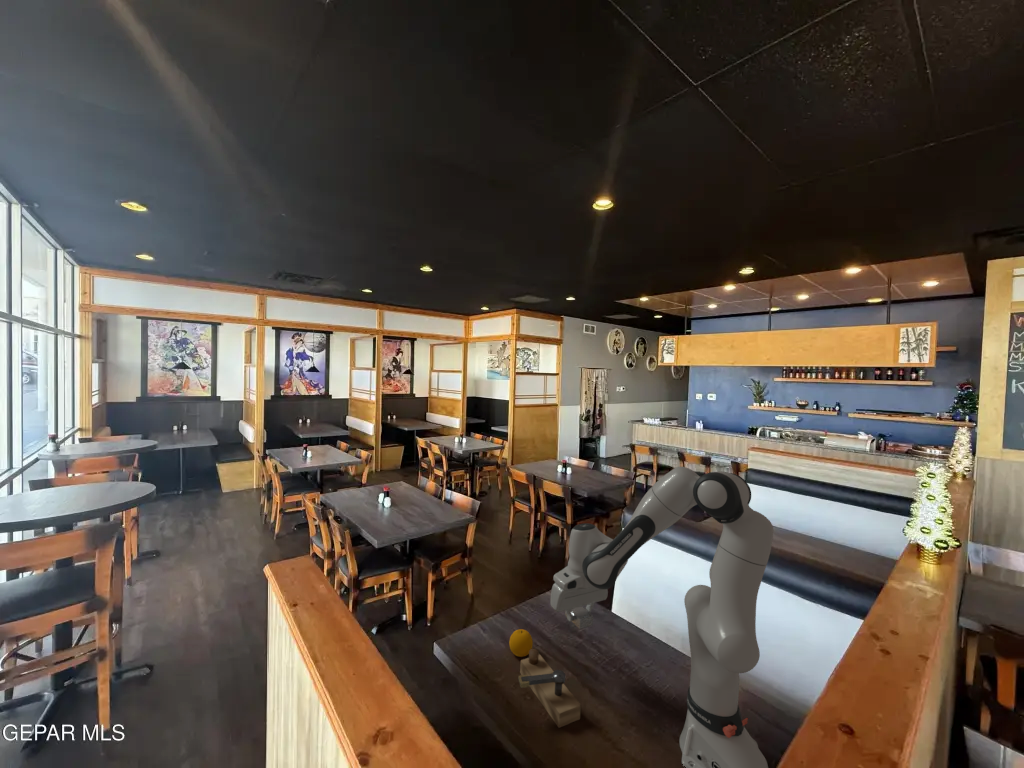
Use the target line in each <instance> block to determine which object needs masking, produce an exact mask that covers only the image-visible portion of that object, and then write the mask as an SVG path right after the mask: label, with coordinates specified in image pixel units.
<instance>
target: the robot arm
mask: <svg viewBox="0 0 1024 768" xmlns="http://www.w3.org/2000/svg"><path fill="white" fill-rule="evenodd" d="M751 501H752V490H751V487H750V485H749V483H748V481H746V480H745V479H744V477H741V476H740V475H738V474H735V473H732V472H727V471H724V470H722V471H719V470H717V471H712V472H706V473H704V474H702V475H701V476H700V475H698V474H697V473H696V472H695V471H694V470H692V469H690V468H688V467H686V466H677V467H674V468H672V470H670V471H669V472H667V473H666V474H664V475H663V476H662V477H661V478H659V479H658V480H657V481H656V482H655V483H654V484H653V485H652V486H651V487H650V488H649V489H648V490H647V492H646V493H645V494H644V496H643V497H642V498H641V500H640V501H639V503H638V505H637V506H636V508H635V510H634V512H633V513H632V515H631V516H630V519H629V521H627V523H626V525H625V527H624V528H623V529H622V530H620V532H619V533H618V534H617V535H616V536H615V538H611V537H609V536H608V535H605V534H604V533H603V532H602V531H600V530H599V528H598V527H597V526H596V525H595V524H592V523H587V522H585V523H583V522H582V523H579V524H576V525H575V526H573V528H572V529H571V531H570V535H569V541H568V542H569V543H568V554H569V558H568V562H567V566H565V567H564V568H562V569H561V570H559V571H558V572H555V574H554V575H553V579H552V581H554V583H553V584H552V587H551V592H550V606H551V608H553V610H554V611H555V612H557V613H562V612H565V611H566V613H567V616H566V618H567V621H568V622H572V621H573V620H574V615H573V614H572V613H571V612H570V611H572V609H573V608H576V607H580V606H582V607H583V606H585V609H586V610H587V611H588V612H589V613H590V614H592V613H591V612H592V610H593V608H594V607H595V603H598V602H602V601H606V600H607V598H608V596H609V595H608V593H609V591H608V590H609V589H610V588H612V587H613V586H614V585H615V584H616V581H617V579H618V578H619V576H620V574H621V573H622V571H623V570H624V568H625V567H626V566H627V564H628V561H629V559H630V558H631V557H632V556H633V555H634V554H636V552H637V551H638V550H639V549H640V548H641V547H643V546H644V545H645V544H646V543H648V542H649V541H651V540H653V538H655V537H656V536H658V535H659V534H661V533H662V532H664V531H665V530H667V529H668V528H670V527H672V526H673V525H674V524H676V523H677V522H679V520H680V519H681V518H683V516H685V515H686V513H687V512H689V510H691V509H692V508H693V507H695V506H698V507H699V508H700V509H701V510H702V511H703V512H705V513H706V514H707V515H709V516H711V517H712V518H713V520H715V521H717V523H719V524H722V532H721V534H720V538H719V541H718V543H717V546H716V549H715V552H714V555H713V559H712V561H711V565H710V567H709V581H710V586H708V585H705V584H696V585H694V586H692V587H691V588H689V589H688V590H687V591H686V593H685V595H684V599H683V600H684V607H685V613H686V619H687V633H688V641H689V642H688V643H689V651H690V678H689V680H690V681H689V687H688V688H687V697H686V707H687V712H686V718H685V722H684V725H683V729H682V731H681V734H680V735H679V739H678V740H679V747H680V751H681V753H682V755H681V765H682V764H683V765H682V766H683V767H684V766H685V767H686V768H769V766H768V761H767V759H766V758H765V755H763V753H762V751H761V750H760V749H759V745H758V742H757V741H756V740H755V739H754V738H752V736H751V735H750V734H749V733H750V732H748V730H747V729H746V727H745V725H747V724H748V723H749V722H748V720H749V718H748V717H746V718H743V716H742V712H741V710H740V707H739V703H738V702H739V690H740V674H745V673H749V672H750V671H752V670H753V669H754V668H755V667H756V666H757V665H758V663H759V660H760V648H759V647H760V646H759V643H758V641H757V640H758V638H757V631H756V628H757V627H756V625H757V624H756V621H757V620H756V617H757V600H758V594H759V590H760V586H761V583H762V581H763V577H764V574H765V571H766V568H767V565H768V562H769V559H770V554H771V551H772V545H773V539H774V538H773V537H774V526H773V523H772V522H771V521H770V520H769V518H767V517H766V516H765V515H764V514H762V513H761V512H759V511H756V510H754V509H752V508H751V506H750V503H751ZM685 767H684V768H685Z"/></svg>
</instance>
